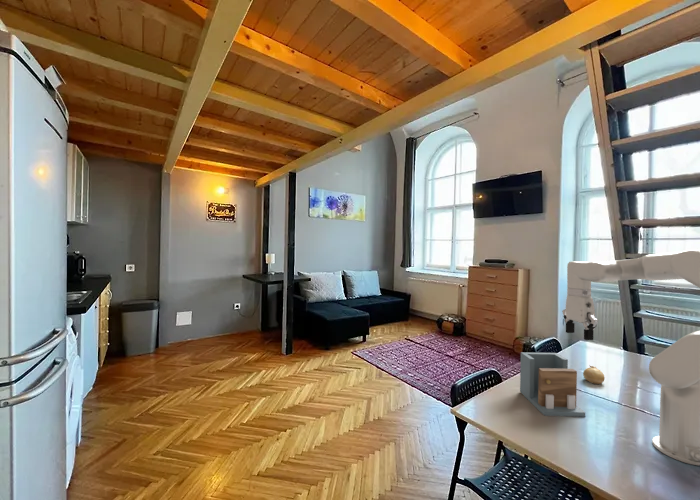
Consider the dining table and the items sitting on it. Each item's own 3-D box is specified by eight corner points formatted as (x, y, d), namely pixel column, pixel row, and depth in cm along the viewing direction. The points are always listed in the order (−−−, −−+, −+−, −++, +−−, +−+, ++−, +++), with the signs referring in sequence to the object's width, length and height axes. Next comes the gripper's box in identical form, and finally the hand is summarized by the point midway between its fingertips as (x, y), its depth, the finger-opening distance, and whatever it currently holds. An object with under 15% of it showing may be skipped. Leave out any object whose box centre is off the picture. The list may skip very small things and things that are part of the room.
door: (577, 408, 119) (578, 372, 118) (543, 407, 119) (543, 371, 119) (571, 403, 122) (572, 368, 122) (538, 403, 123) (538, 368, 122)
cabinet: (585, 416, 116) (586, 370, 115) (544, 415, 117) (545, 369, 116) (555, 393, 134) (556, 352, 133) (520, 392, 135) (520, 352, 134)
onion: (608, 383, 143) (608, 368, 143) (598, 387, 139) (598, 371, 139) (588, 377, 150) (589, 362, 150) (579, 380, 147) (579, 365, 147)
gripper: (606, 296, 113) (606, 342, 113) (572, 289, 130) (572, 330, 130) (586, 296, 113) (586, 343, 113) (554, 289, 130) (554, 330, 130)
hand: (579, 336), depth 122 cm, fingers open, 9 cm apart
